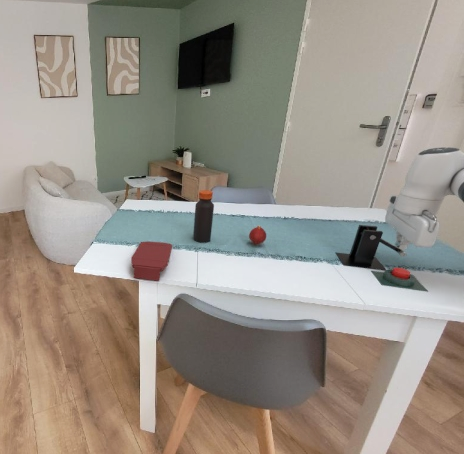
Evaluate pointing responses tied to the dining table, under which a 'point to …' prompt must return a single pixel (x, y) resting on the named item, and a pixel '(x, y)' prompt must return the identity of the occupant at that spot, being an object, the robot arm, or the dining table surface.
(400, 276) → the button
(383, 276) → the button panel
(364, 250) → the switch bracket
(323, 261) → the dining table surface
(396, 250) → the switch lever
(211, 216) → the vinegar
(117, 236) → the dining table surface
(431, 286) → the dining table surface
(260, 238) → the onion
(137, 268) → the red lidded container
